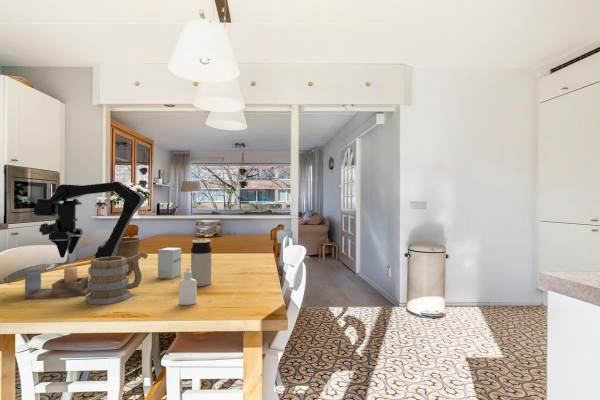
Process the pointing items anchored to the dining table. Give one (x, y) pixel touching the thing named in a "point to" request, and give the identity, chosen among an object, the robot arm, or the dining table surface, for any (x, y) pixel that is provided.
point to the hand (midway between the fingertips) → (66, 255)
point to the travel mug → (201, 262)
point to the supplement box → (169, 262)
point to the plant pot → (128, 249)
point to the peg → (70, 275)
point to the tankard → (112, 278)
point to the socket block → (58, 287)
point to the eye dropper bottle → (187, 289)
